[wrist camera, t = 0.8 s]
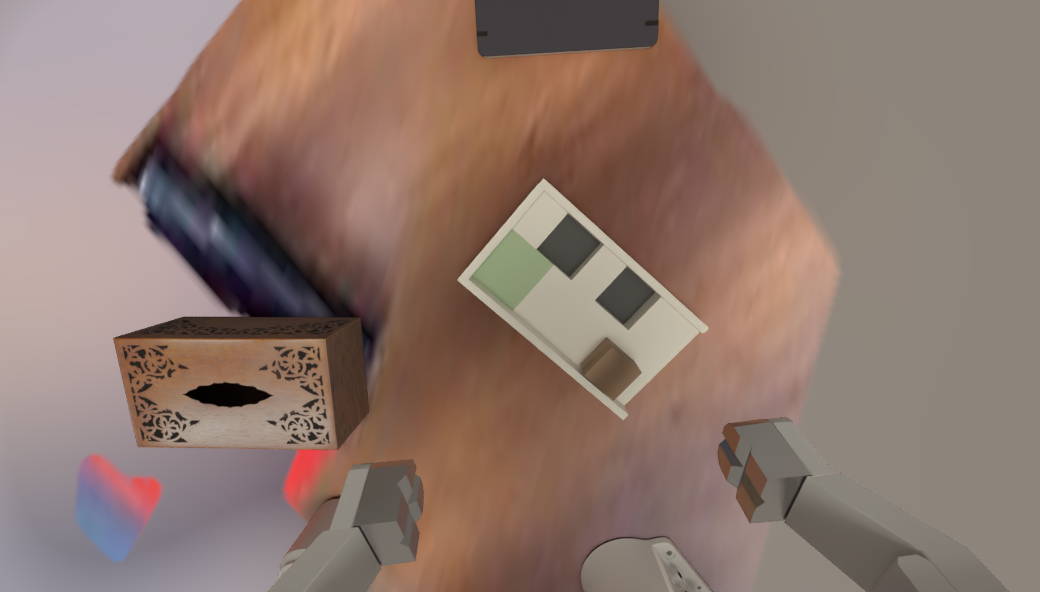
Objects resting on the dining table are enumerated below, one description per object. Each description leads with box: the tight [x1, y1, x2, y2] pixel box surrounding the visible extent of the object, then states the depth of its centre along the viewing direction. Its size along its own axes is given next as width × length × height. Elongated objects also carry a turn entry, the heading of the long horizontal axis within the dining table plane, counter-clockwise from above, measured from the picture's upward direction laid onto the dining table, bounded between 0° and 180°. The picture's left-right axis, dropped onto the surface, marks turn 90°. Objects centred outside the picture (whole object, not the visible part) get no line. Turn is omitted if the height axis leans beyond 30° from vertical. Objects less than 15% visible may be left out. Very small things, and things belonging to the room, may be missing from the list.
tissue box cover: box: [113, 317, 369, 450], centre depth 54 cm, size 26×14×10 cm, turn 90°
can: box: [278, 499, 339, 579], centre depth 58 cm, size 8×8×12 cm
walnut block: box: [581, 337, 642, 401], centre depth 52 cm, size 5×5×4 cm
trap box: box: [457, 178, 709, 420], centre depth 52 cm, size 28×16×6 cm, turn 49°
